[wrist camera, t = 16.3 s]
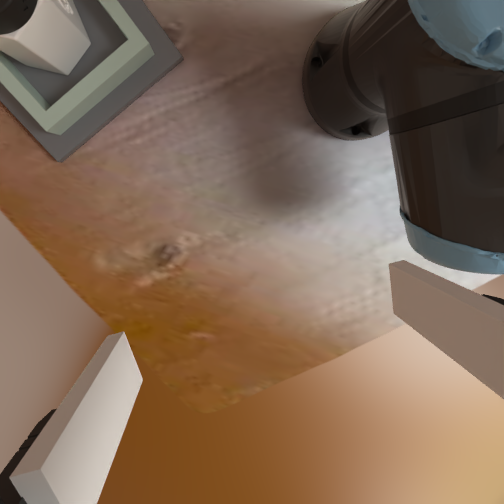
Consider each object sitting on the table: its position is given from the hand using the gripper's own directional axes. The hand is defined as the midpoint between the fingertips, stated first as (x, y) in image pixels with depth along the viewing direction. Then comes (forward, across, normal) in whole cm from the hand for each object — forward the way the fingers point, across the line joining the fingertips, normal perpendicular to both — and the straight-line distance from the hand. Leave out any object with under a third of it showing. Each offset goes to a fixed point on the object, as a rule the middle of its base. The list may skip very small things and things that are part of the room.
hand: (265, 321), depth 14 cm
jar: (+28, -15, +26) cm, 41 cm away
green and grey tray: (+28, -15, +26) cm, 42 cm away
